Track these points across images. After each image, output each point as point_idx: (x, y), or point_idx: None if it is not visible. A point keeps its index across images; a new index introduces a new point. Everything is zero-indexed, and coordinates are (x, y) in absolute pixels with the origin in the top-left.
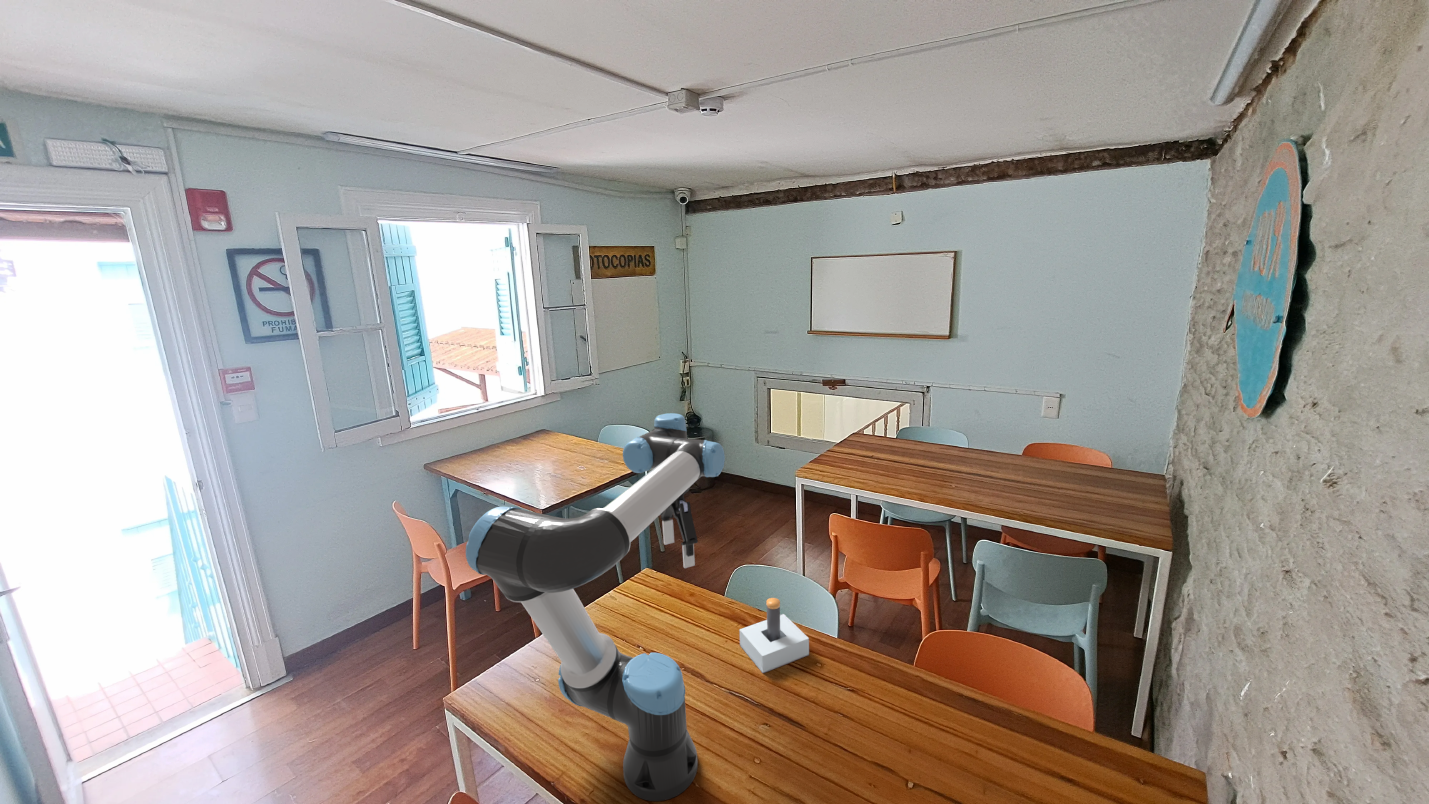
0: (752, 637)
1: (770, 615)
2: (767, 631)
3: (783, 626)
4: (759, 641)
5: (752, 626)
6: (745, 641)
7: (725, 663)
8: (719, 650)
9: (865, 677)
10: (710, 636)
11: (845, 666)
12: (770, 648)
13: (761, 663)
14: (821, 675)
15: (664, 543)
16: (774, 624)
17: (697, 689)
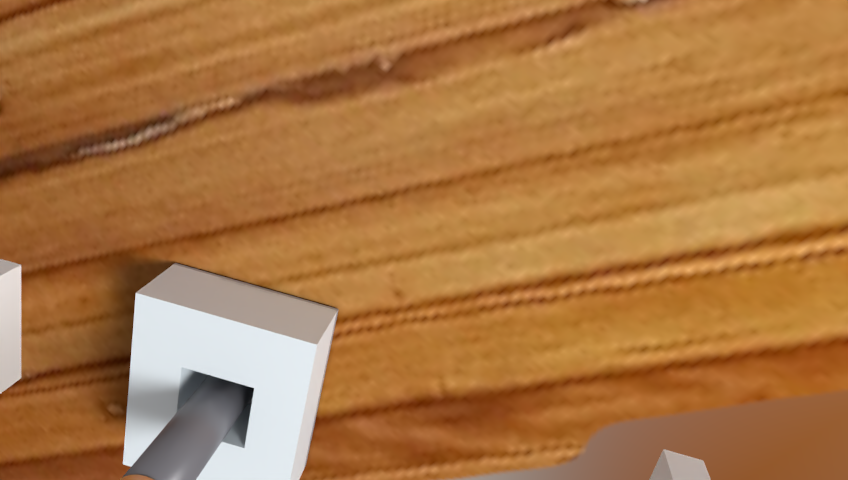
0: (244, 343)
1: (150, 451)
2: (215, 399)
3: (225, 459)
4: (209, 344)
5: (298, 390)
6: (275, 318)
7: (299, 207)
8: (372, 240)
9: (6, 447)
10: (464, 270)
11: (67, 449)
12: (153, 342)
13: (163, 279)
14: (73, 378)
15: (678, 463)
16: (161, 431)
17: (250, 34)
